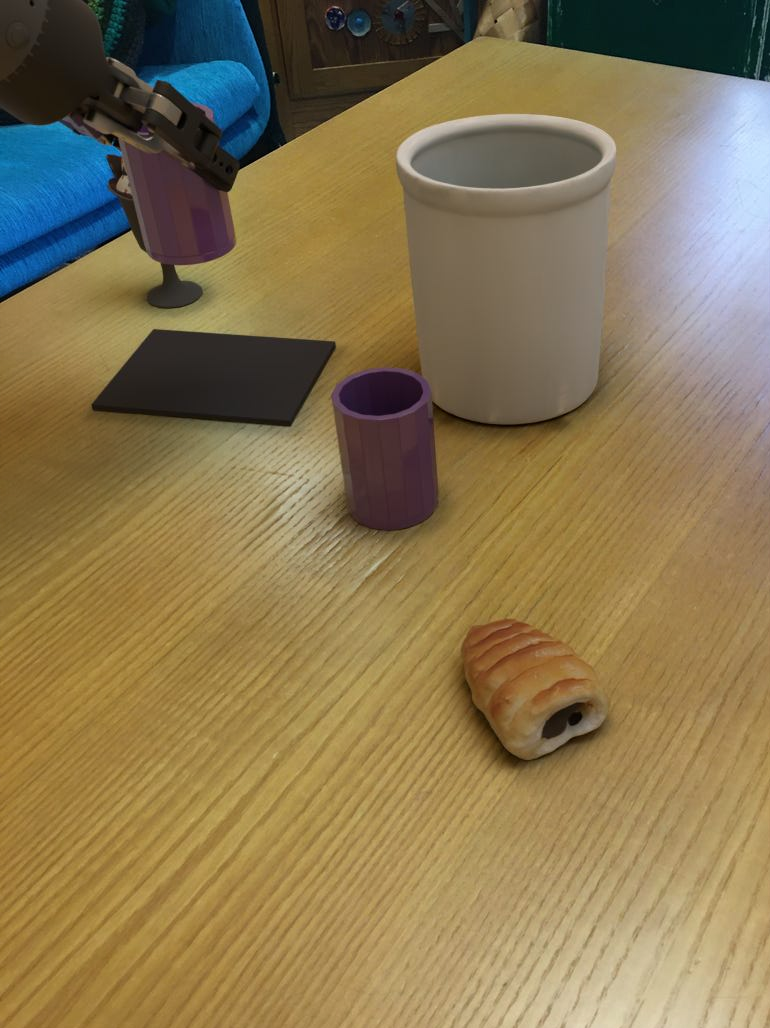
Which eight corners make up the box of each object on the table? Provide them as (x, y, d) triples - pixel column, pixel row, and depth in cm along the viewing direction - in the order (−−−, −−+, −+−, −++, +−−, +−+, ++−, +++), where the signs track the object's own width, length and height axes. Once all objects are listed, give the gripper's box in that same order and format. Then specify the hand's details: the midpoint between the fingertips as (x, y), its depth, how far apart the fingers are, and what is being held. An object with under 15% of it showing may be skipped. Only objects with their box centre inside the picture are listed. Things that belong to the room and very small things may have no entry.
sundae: (225, 297, 97) (188, 120, 87) (154, 320, 95) (107, 140, 84) (195, 271, 101) (156, 98, 91) (126, 292, 99) (78, 117, 88)
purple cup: (132, 262, 75) (98, 133, 69) (167, 224, 79) (139, 100, 74) (217, 268, 74) (191, 137, 68) (249, 229, 78) (226, 103, 73)
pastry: (432, 666, 63) (428, 617, 61) (531, 624, 66) (532, 575, 63) (517, 775, 57) (517, 726, 55) (623, 724, 60) (628, 675, 57)
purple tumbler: (336, 525, 73) (319, 415, 67) (361, 471, 78) (347, 364, 72) (426, 534, 72) (417, 423, 66) (446, 479, 77) (439, 370, 71)
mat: (92, 410, 85) (90, 404, 84) (154, 334, 93) (153, 328, 93) (290, 426, 82) (289, 420, 82) (336, 346, 90) (335, 341, 90)
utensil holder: (410, 339, 91) (391, 116, 79) (588, 325, 92) (597, 103, 80) (419, 437, 80) (399, 198, 68) (620, 422, 81) (636, 182, 69)
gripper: (105, -35, 56) (295, 134, 71) (-66, -65, 62) (142, 96, 77) (53, 106, 57) (252, 244, 72) (-112, 63, 63) (104, 198, 78)
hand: (194, 167), depth 74 cm, fingers closed on purple cup, 6 cm apart
